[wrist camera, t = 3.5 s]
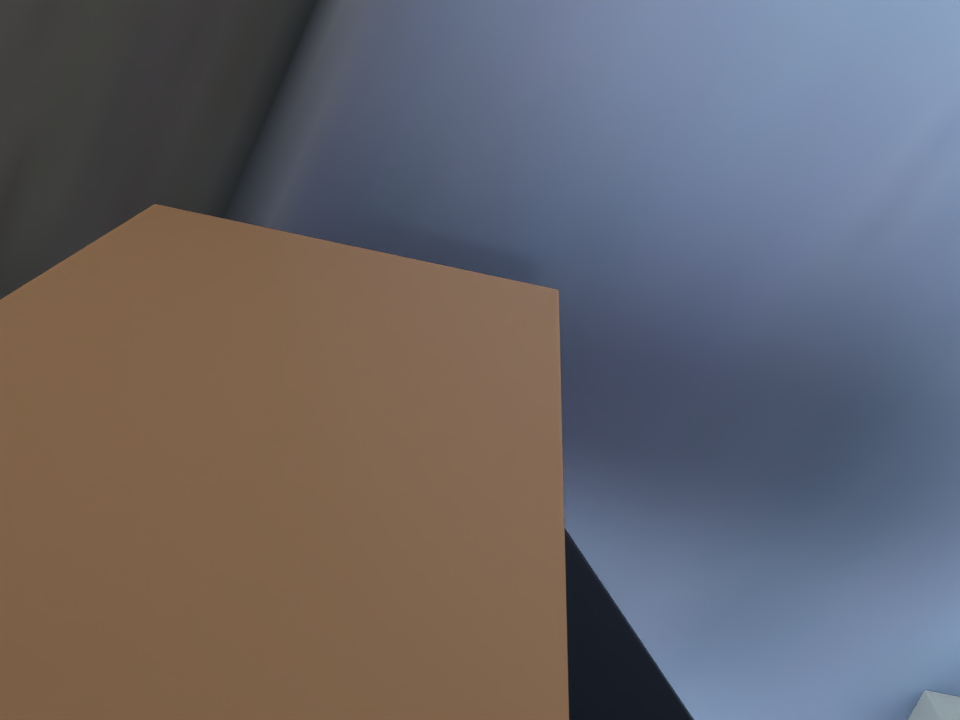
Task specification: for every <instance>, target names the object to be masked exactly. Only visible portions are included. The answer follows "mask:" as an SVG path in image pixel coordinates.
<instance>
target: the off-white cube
mask: <svg viewBox="0 0 960 720" xmlns="http://www.w3.org/2000/svg"><path fill="white" fill-rule="evenodd" d="M908 720H960V697H957V696H952V695H947V694H942V693H937V692H933V691H928V690H925V691H924V692H923V694H922V696H921V698H920V699H919V701H918V703H917V704H916V706H915V708H914V710H913V711H912V713H911V715H910V716H909V718H908Z"/></svg>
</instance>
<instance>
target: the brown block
mask: <svg viewBox="0 0 960 720" xmlns="http://www.w3.org/2000/svg"><path fill="white" fill-rule="evenodd" d="M0 720H569V697H568V655H567V613H566V571H565V529H564V486H563V444H562V402H561V360H560V318H559V290H558V289H553V288H548V287H544V286H539V285H534V284H530V283H525V282H520V281H515V280H511V279H506V278H501V277H497V276H492V275H487V274H483V273H478V272H473V271H468V270H464V269H459V268H454V267H450V266H445V265H440V264H435V263H431V262H426V261H421V260H417V259H412V258H407V257H402V256H398V255H393V254H388V253H384V252H379V251H374V250H369V249H365V248H360V247H355V246H351V245H346V244H341V243H336V242H332V241H327V240H322V239H318V238H313V237H308V236H304V235H299V234H294V233H289V232H285V231H280V230H275V229H271V228H266V227H261V226H256V225H252V224H247V223H242V222H238V221H233V220H228V219H223V218H219V217H214V216H209V215H205V214H200V213H195V212H190V211H186V210H181V209H176V208H172V207H167V206H162V205H158V204H154V205H152V206H150V207H149V208H147V209H145V210H144V211H142V212H141V213H139V214H137V215H136V216H134V217H133V218H131V219H129V220H128V221H126V222H125V223H123V224H121V225H120V226H118V227H117V228H115V229H113V230H112V231H110V232H108V233H107V234H105V235H104V236H102V237H100V238H99V239H97V240H96V241H94V242H92V243H91V244H89V245H88V246H86V247H84V248H83V249H81V250H79V251H78V252H76V253H75V254H73V255H71V256H70V257H68V258H67V259H65V260H63V261H62V262H60V263H59V264H57V265H55V266H54V267H52V268H50V269H49V270H47V271H46V272H44V273H42V274H41V275H39V276H38V277H36V278H34V279H33V280H31V281H30V282H28V283H26V284H25V285H23V286H21V287H20V288H18V289H17V290H15V291H13V292H12V293H10V294H9V295H7V296H5V297H4V298H2V299H1V300H0Z"/></svg>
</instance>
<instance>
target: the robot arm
mask: <svg viewBox="0 0 960 720" xmlns="http://www.w3.org/2000/svg"><path fill="white" fill-rule="evenodd" d="M564 529H565V527H564ZM565 571H566V613H567V655H568V697H569V720H694V719H693V718H692V716H691V715H690V713H689V712H688V710H687V709H686V707H685V706H684V704H683V703H682V701H681V700H680V698H679V697H678V695H677V694H676V692H675V691H674V689H673V688H672V687H671V685H670V684H669V682H668V681H667V679H666V678H665V676H664V675H663V673H662V672H661V670H660V669H659V667H658V666H657V664H656V663H655V661H654V660H653V658H652V657H651V655H650V654H649V652H648V651H647V649H646V648H645V646H644V645H643V643H642V642H641V640H640V639H639V637H638V636H637V634H636V633H635V632H634V630H633V629H632V627H631V626H630V624H629V623H628V621H627V620H626V618H625V617H624V615H623V614H622V612H621V611H620V609H619V608H618V606H617V605H616V603H615V602H614V600H613V599H612V597H611V596H610V594H609V593H608V591H607V590H606V588H605V587H604V585H603V584H602V582H601V581H600V579H599V578H598V577H597V575H596V574H595V572H594V571H593V569H592V568H591V566H590V565H589V563H588V562H587V560H586V559H585V557H584V556H583V554H582V553H581V551H580V550H579V548H578V547H577V545H576V544H575V542H574V541H573V539H572V538H571V536H570V535H569V533H568V532H567V530H566V529H565Z"/></svg>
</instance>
